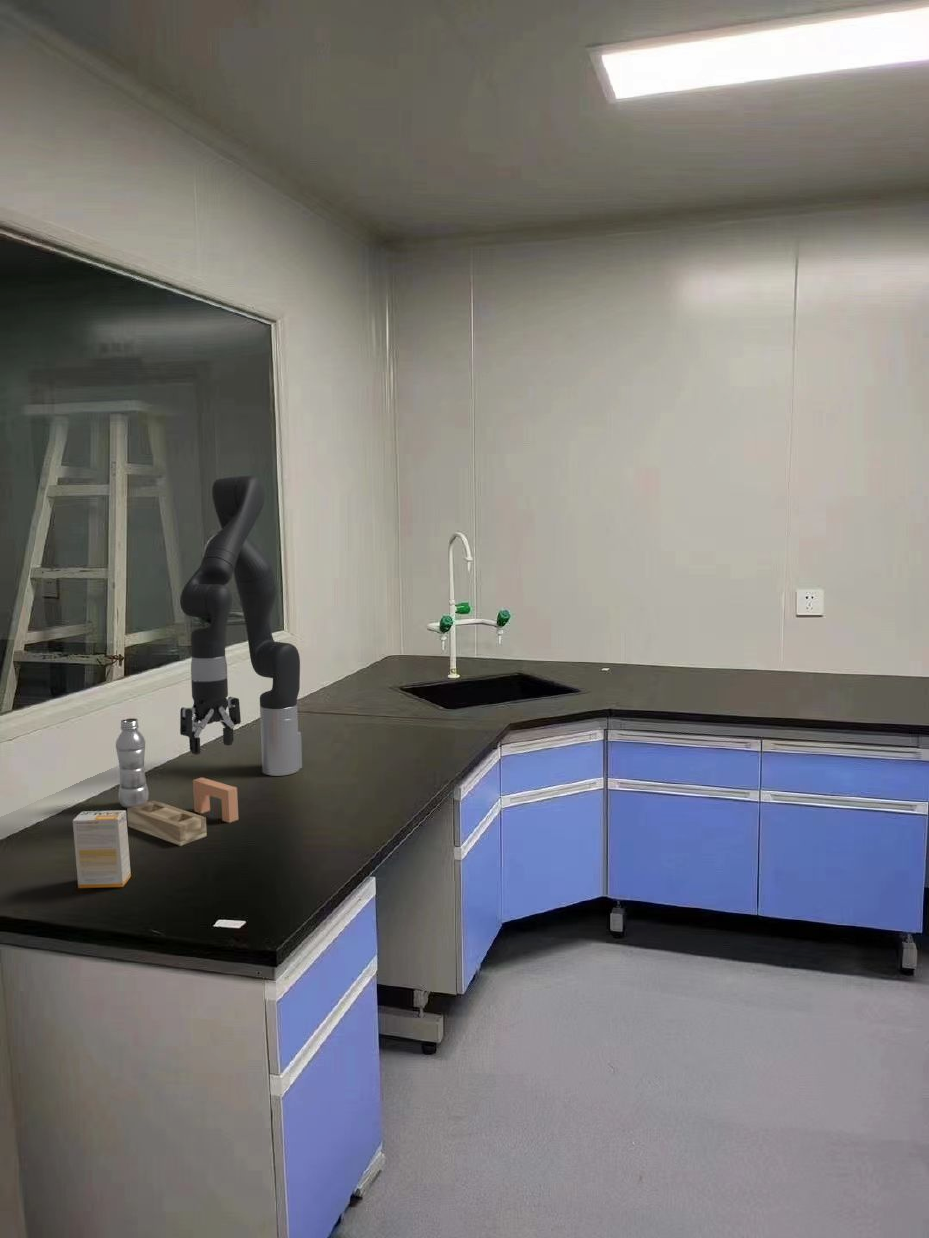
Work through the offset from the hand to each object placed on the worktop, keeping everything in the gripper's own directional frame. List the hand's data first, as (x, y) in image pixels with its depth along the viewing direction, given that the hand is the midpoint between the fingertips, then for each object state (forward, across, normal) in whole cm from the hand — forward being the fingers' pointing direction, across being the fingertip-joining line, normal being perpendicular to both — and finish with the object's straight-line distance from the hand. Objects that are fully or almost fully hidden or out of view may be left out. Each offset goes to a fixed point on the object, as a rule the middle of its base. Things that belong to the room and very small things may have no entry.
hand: (212, 749), depth 196 cm
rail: (+15, +12, -1) cm, 19 cm away
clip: (+15, 0, 0) cm, 15 cm away
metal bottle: (+15, +7, -20) cm, 26 cm away
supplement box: (+16, +34, +11) cm, 39 cm away
